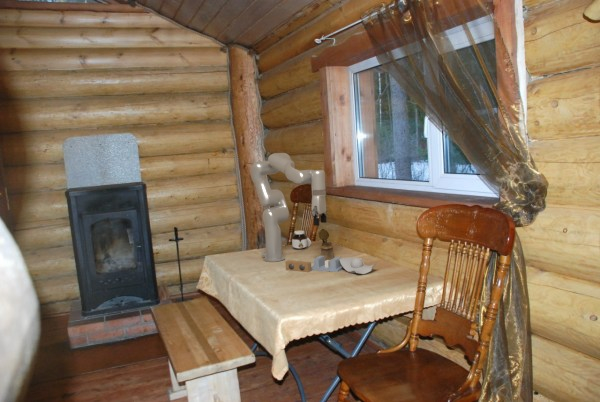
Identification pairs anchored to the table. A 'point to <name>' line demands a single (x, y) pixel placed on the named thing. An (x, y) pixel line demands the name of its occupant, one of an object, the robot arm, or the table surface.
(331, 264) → the display stand
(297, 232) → the spread jar
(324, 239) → the wooden mug
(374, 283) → the table surface
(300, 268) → the tan wooden plank
